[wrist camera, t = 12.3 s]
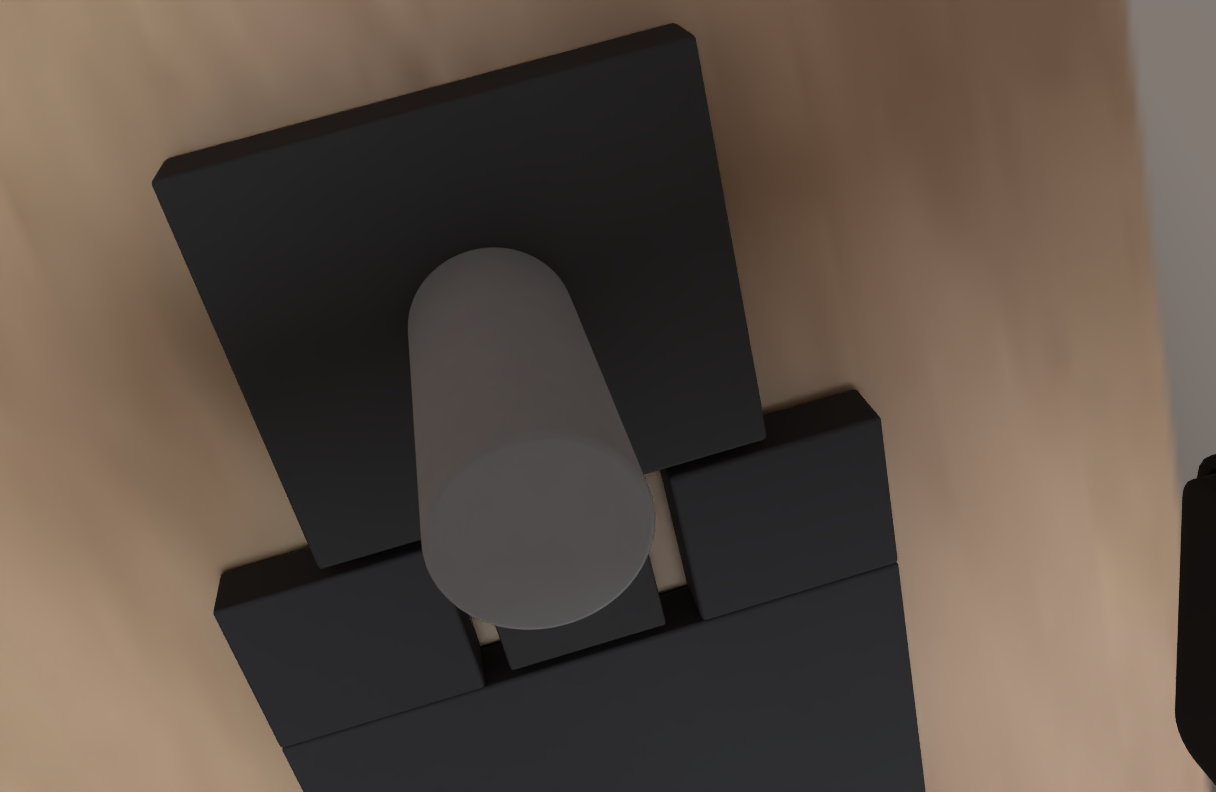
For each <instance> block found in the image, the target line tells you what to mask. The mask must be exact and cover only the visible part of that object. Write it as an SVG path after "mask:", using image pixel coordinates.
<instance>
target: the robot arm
mask: <svg viewBox="0 0 1216 792" xmlns="http://www.w3.org/2000/svg"><path fill="white" fill-rule="evenodd" d="M1175 717H1176V723H1177V727H1178V731H1179V733H1180V736H1181V738H1182V741H1183V743H1184V744H1185V746H1186V748H1187V750H1188V752H1189V753H1190V754H1191V756H1192V757H1193V759H1194V760H1195V761H1196V762H1197V764H1198V765H1199V766H1200V767H1201V768H1202V770H1203V771H1204V772H1205V773H1206V774H1207V776H1208V777H1209V778H1210V779H1211V780H1212V782H1213V783H1214V784H1215V785H1216V454H1215V455H1211V456H1209V457H1207V458H1205V459H1204V460H1203V462H1202V463H1201V465H1200V466H1199V470H1198V475H1197V478H1196V479H1193V480H1191V481H1188V482H1187V484H1186V485H1185V487H1184V490H1183V496H1182V525H1181V554H1180V582H1179V611H1178V640H1177V669H1176V698H1175Z"/></svg>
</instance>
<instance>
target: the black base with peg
mask: <svg viewBox="0 0 1216 792" xmlns="http://www.w3.org/2000/svg"><path fill="white" fill-rule="evenodd" d="M152 186H153V189H154V191H155V193H156V195H157V198H158V200H159V202H160V205H161V207H162V209H163V212H164V214H165V216H166V218H167V221H168V223H169V225H170V228H171V230H172V232H173V234H174V237H175V239H176V241H177V244H178V246H179V248H180V251H181V253H182V255H183V257H184V260H185V262H186V264H187V267H188V269H189V271H190V274H191V276H192V278H193V280H194V283H195V285H196V287H197V290H198V292H199V294H200V297H201V299H202V301H203V303H204V306H205V308H206V310H207V313H208V315H209V317H210V320H211V322H212V324H213V326H214V329H215V331H216V333H217V336H218V338H219V340H220V343H221V345H222V347H223V349H224V352H225V354H226V356H227V359H228V361H229V363H230V366H231V368H232V370H233V372H234V375H235V377H236V379H237V382H238V384H239V386H240V389H241V391H242V393H243V395H244V398H245V400H246V402H247V405H248V407H249V409H250V412H251V414H252V416H253V418H254V421H255V423H256V425H257V428H258V430H259V432H260V435H261V437H262V439H263V441H264V444H265V446H266V448H267V451H268V453H269V455H270V458H271V460H272V462H273V464H274V467H275V469H276V471H277V474H278V476H279V478H280V481H281V483H282V485H283V487H284V490H285V492H286V494H287V497H288V499H289V501H290V504H291V506H292V508H293V510H294V513H295V515H296V517H297V520H298V522H299V524H300V527H301V529H302V531H303V533H304V536H305V538H306V540H307V543H308V545H309V547H310V550H311V552H312V554H313V556H314V559H315V561H316V563H317V566H318V567H319V568H321V569H323V568H326V567H330V566H333V565H336V564H340V563H343V562H347V561H350V560H354V559H357V558H360V557H364V556H367V555H371V554H374V553H377V552H381V551H384V550H388V549H391V548H395V547H398V546H401V545H405V544H408V543H412V542H415V541H418V540H421V544H422V552H423V557H424V560H425V564H426V567H427V569H428V571H429V573H430V576H431V578H432V579H433V581H434V582H435V584H436V585H437V587H438V588H439V590H440V591H441V592H442V593H443V594H444V595H445V596H446V597H447V598H448V599H449V600H450V601H451V602H452V603H453V604H454V605H456V606H457V607H458V608H459V609H461V610H462V611H464V612H465V613H467V614H469V615H470V616H472V617H474V618H477V619H479V620H481V621H483V622H486V623H489V624H492V625H495V626H496V628H497V631H498V634H499V637H500V640H501V643H502V646H503V648H504V651H505V654H506V657H507V660H508V663H509V666H510V668H511V669H512V670H515V669H519V668H522V667H525V666H529V665H532V664H535V663H538V662H542V661H545V660H548V659H552V658H555V657H558V656H562V655H565V654H568V653H572V652H575V651H578V650H582V649H585V648H588V647H592V646H595V645H598V644H602V643H605V642H608V641H612V640H615V639H618V638H622V637H625V636H628V635H632V634H635V633H638V632H642V631H645V630H648V629H652V628H655V627H658V626H662V625H664V624H665V622H666V621H665V617H664V613H663V609H662V605H661V601H660V597H659V593H658V589H657V585H656V581H655V577H654V573H653V569H652V565H651V561H650V558H649V551H650V548H651V544H652V541H653V537H654V530H655V509H654V503H653V499H652V496H651V493H650V490H649V487H648V484H647V482H646V480H645V477H644V474H648V473H651V472H654V471H658V470H661V469H665V468H668V467H672V466H675V465H678V464H682V463H685V462H689V461H692V460H695V459H699V458H702V457H706V456H709V455H713V454H716V453H719V452H723V451H726V450H730V449H733V448H737V447H740V446H743V445H747V444H750V443H754V442H757V441H760V440H764V439H765V438H766V429H765V424H764V418H763V413H762V407H761V401H760V396H759V390H758V385H757V379H756V373H755V368H754V362H753V357H752V351H751V345H750V340H749V334H748V329H747V323H746V317H745V312H744V306H743V301H742V295H741V290H740V284H739V278H738V273H737V267H736V262H735V256H734V250H733V245H732V239H731V234H730V228H729V222H728V217H727V211H726V206H725V200H724V195H723V189H722V183H721V178H720V172H719V167H718V161H717V155H716V150H715V144H714V139H713V133H712V127H711V122H710V116H709V111H708V105H707V99H706V94H705V88H704V83H703V77H702V72H701V66H700V60H699V55H698V49H697V44H696V38H695V37H694V35H692V34H691V33H689V32H688V31H686V30H685V29H683V28H682V27H680V26H679V25H677V24H674V23H672V24H669V25H665V26H661V27H658V28H654V29H650V30H646V31H643V32H639V33H635V34H632V35H628V36H624V37H620V38H617V39H613V40H609V41H605V42H602V43H598V44H594V45H591V46H587V47H583V48H579V49H576V50H572V51H568V52H565V53H561V54H557V55H553V56H550V57H546V58H542V59H539V60H535V61H531V62H527V63H524V64H520V65H516V66H512V67H509V68H505V69H501V70H498V71H494V72H490V73H486V74H483V75H479V76H475V77H472V78H468V79H464V80H460V81H457V82H453V83H449V84H445V85H442V86H438V87H434V88H431V89H427V90H423V91H419V92H416V93H412V94H408V95H405V96H401V97H397V98H393V99H390V100H386V101H382V102H379V103H375V104H371V105H367V106H364V107H360V108H356V109H352V110H349V111H345V112H341V113H338V114H334V115H330V116H326V117H323V118H319V119H315V120H312V121H308V122H304V123H300V124H297V125H293V126H289V127H286V128H282V129H278V130H274V131H271V132H267V133H263V134H259V135H256V136H252V137H248V138H245V139H241V140H237V141H233V142H230V143H226V144H222V145H219V146H215V147H211V148H207V149H204V150H200V151H196V152H193V153H189V154H185V155H181V156H178V157H174V158H170V159H167V160H166V161H165V162H164V163H163V165H162V166H161V168H160V169H159V171H158V173H157V174H156V176H155V177H154V179H153V181H152Z"/></svg>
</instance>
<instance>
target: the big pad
mask: <svg viewBox="0 0 1216 792" xmlns="http://www.w3.org/2000/svg"><path fill="white" fill-rule="evenodd" d="M763 418H764V424H765V429H766V438H765V439H764V440H760V441H757V442H754V443H750V444H747V445H743V446H740V447H737V448H733V449H730V450H726V451H723V452H719V453H716V454H713V455H709V456H706V457H702V458H699V459H695V460H692V461H689V462H685V463H682V464H678V465H675V466H672V467H668V468H665V469H661V474H662V478H663V483H664V487H665V491H666V495H667V499H668V504H669V508H670V512H671V516H672V521H673V525H674V529H675V533H676V537H677V542H678V546H679V550H680V554H681V559H682V563H683V567H684V571H685V575H686V580H687V584H688V587H686V588H682V589H679V590H676V591H672V592H669V593H666V594H662V595H659V597H660V601H661V605H662V609H663V613H664V617H665V621H666V622H665V624H664V625H662V626H658V627H655V628H652V629H648V630H645V631H642V632H638V633H635V634H632V635H628V636H625V637H622V638H618V639H615V640H612V641H608V642H605V643H602V644H598V645H595V646H592V647H588V648H585V649H582V650H578V651H575V652H572V653H568V654H565V655H562V656H558V657H555V658H552V659H548V660H545V661H542V662H538V663H535V664H532V665H529V666H525V667H522V668H519V669H515V670H512V669H511V668H510V666H509V663H508V660H507V657H506V654H505V651H504V648H503V646H502V643H499V644H495V645H492V646H489V647H485V648H482V649H480V645H479V642H478V639H477V636H476V634H475V631H474V628H473V625H472V623H471V620H470V617H469V614H467V613H465V612H464V611H462V610H461V609H459V608H458V607H457V606H456V605H454V604H453V603H452V602H451V601H450V600H449V599H448V598H447V597H446V596H445V595H444V594H443V593H442V592H441V591H440V590H439V588H438V587H437V585H436V584H435V582H434V581H433V579H432V578H431V576H430V573H429V571H428V569H427V567H426V564H425V560H424V557H423V552H422V544H421V540H418V541H415V542H412V543H408V544H405V545H401V546H398V547H395V548H391V549H388V550H384V551H381V552H377V553H374V554H371V555H367V556H364V557H360V558H357V559H354V560H350V561H347V562H343V563H340V564H336V565H333V566H330V567H326V568H323V569H321V568H319V567H318V566H317V563H316V561H315V559H314V556H313V554H312V552H311V550H310V548H307V549H304V550H300V551H297V552H293V553H290V554H286V555H283V556H279V557H276V558H273V559H269V560H266V561H262V562H259V563H255V564H252V565H249V566H245V567H242V568H238V569H235V570H231V571H228V572H225V573H223V574H222V575H221V578H220V583H219V587H218V592H217V597H216V602H215V607H214V616H215V618H216V620H217V622H218V624H219V626H220V628H221V630H222V632H223V634H224V636H225V638H226V640H227V642H228V644H229V646H230V648H231V650H232V652H233V654H234V656H235V658H236V660H237V662H238V664H239V666H240V668H241V669H242V671H243V673H244V675H245V677H246V679H247V681H248V683H249V685H250V687H251V689H252V691H253V693H254V695H255V697H256V699H257V701H258V703H259V705H260V707H261V709H262V711H263V713H264V715H265V717H266V719H267V721H268V723H269V725H270V727H271V729H272V731H273V733H274V735H275V737H276V739H277V741H278V743H279V745H280V746H281V747H283V752H284V754H285V756H286V758H287V760H288V762H289V764H290V766H291V768H292V770H293V772H294V774H295V776H296V778H297V780H298V782H299V784H300V786H301V788H302V790H303V792H925V784H924V775H923V767H922V759H921V750H920V742H919V734H918V725H917V717H916V709H915V700H914V692H913V684H912V675H911V667H910V659H909V650H908V642H907V634H906V625H905V617H904V609H903V601H902V592H901V584H900V576H899V567H898V564H897V551H896V543H895V535H894V526H893V518H892V510H891V501H890V493H889V485H888V476H887V468H886V460H885V451H884V443H883V435H882V426H881V419H880V417H879V416H878V415H877V413H876V412H875V411H874V410H873V409H872V408H871V406H870V405H869V404H868V403H867V402H866V400H865V399H864V398H863V397H862V396H861V395H860V393H859V392H858V391H857V390H851V391H847V392H844V393H841V394H837V395H834V396H830V397H827V398H823V399H820V400H816V401H813V402H810V403H806V404H803V405H799V406H796V407H792V408H789V409H786V410H782V411H779V412H775V413H772V414H768V415H765V416H763Z"/></svg>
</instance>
